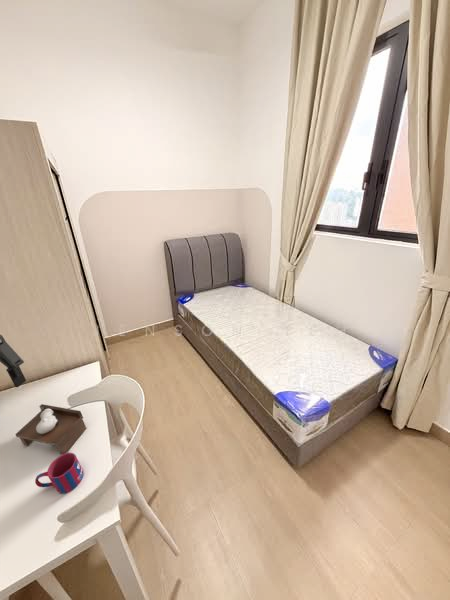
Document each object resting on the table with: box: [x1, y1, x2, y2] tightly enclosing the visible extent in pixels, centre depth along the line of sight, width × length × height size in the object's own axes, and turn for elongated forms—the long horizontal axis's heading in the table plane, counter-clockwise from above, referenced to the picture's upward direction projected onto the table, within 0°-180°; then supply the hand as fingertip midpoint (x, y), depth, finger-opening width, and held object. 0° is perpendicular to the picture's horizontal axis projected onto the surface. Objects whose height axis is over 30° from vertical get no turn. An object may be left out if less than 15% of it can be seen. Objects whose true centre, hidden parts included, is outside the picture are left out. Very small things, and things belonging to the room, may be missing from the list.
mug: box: [34, 452, 84, 494], centre depth 65 cm, size 7×10×7 cm
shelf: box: [14, 403, 88, 455], centre depth 77 cm, size 16×10×8 cm, turn 77°
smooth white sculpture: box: [36, 409, 58, 434], centre depth 75 cm, size 4×8×5 cm
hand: (3, 380), depth 71 cm, fingers open, 13 cm apart
